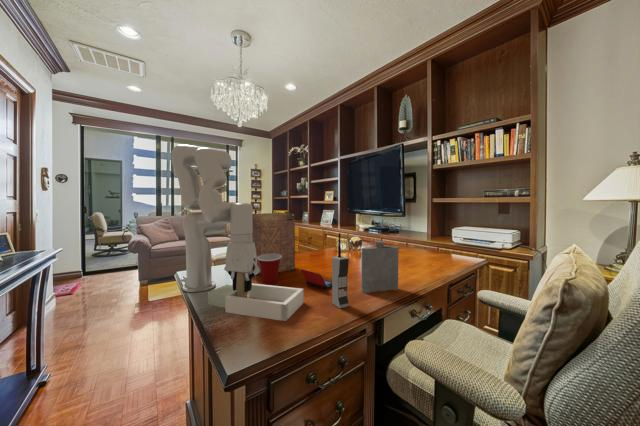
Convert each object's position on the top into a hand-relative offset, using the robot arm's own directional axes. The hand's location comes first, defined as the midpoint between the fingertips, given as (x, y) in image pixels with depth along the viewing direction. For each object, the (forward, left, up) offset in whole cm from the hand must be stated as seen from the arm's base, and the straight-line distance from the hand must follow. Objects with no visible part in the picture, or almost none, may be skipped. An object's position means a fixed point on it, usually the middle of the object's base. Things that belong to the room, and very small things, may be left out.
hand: (242, 289), depth 90 cm
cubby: (+10, 0, -5) cm, 11 cm away
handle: (0, 0, -4) cm, 4 cm away
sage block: (-6, 0, -5) cm, 8 cm away
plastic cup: (-3, +25, -5) cm, 26 cm away
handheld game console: (+20, +27, -6) cm, 34 cm away
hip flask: (+45, +29, -5) cm, 54 cm away
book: (-13, +43, -5) cm, 45 cm away
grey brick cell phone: (+33, +9, -5) cm, 35 cm away
